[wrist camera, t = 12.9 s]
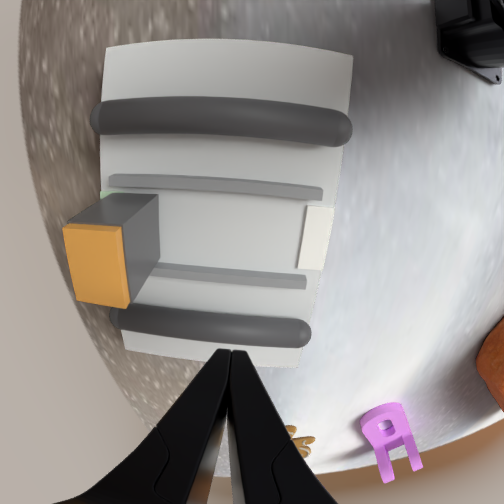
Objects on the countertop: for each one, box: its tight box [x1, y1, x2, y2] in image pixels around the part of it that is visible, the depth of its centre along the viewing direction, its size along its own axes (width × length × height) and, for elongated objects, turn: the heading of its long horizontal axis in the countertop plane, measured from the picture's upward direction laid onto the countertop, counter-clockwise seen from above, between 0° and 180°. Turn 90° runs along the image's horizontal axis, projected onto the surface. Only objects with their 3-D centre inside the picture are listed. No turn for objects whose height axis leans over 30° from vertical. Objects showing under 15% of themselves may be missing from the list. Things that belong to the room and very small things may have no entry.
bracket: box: [360, 403, 423, 483], centre depth 27 cm, size 13×6×7 cm, turn 31°
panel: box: [90, 39, 353, 368], centre depth 17 cm, size 14×22×4 cm, turn 175°
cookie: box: [285, 425, 315, 459], centre depth 31 cm, size 8×1×10 cm
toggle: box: [62, 193, 160, 309], centre depth 14 cm, size 3×4×6 cm
